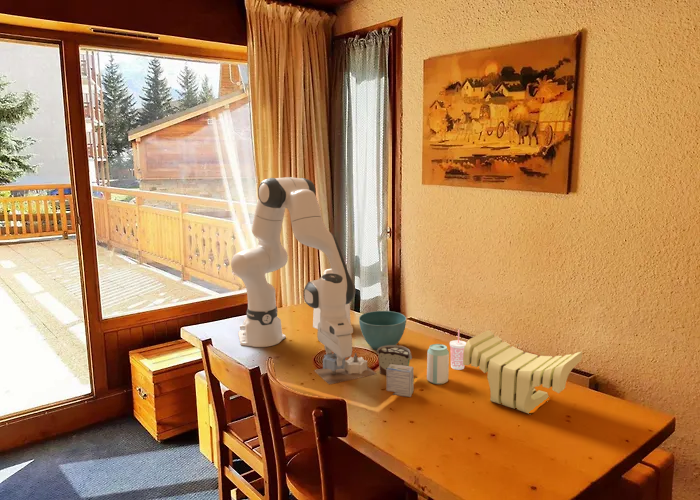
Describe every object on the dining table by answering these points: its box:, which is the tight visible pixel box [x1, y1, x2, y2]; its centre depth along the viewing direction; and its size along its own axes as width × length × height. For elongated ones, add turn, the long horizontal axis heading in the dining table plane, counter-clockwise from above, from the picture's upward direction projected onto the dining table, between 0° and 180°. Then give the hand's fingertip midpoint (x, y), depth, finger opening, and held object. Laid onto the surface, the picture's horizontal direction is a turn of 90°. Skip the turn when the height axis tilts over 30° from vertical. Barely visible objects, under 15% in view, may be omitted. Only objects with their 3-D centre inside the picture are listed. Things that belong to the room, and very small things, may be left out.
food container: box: [376, 344, 413, 376], centre depth 185 cm, size 12×6×10 cm, turn 65°
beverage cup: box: [449, 329, 467, 371], centre depth 192 cm, size 6×6×14 cm
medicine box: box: [386, 364, 414, 398], centre depth 172 cm, size 8×4×9 cm, turn 71°
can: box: [426, 343, 450, 385], centre depth 181 cm, size 7×7×12 cm
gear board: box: [313, 352, 377, 385], centre depth 186 cm, size 13×18×7 cm
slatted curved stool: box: [463, 329, 583, 414], centre depth 165 cm, size 30×16×18 cm, turn 47°
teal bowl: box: [358, 310, 407, 351], centre depth 211 cm, size 18×18×12 cm
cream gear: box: [344, 356, 368, 374], centre depth 188 cm, size 7×8×3 cm
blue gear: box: [322, 352, 346, 371], centre depth 184 cm, size 7×8×3 cm
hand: (334, 361), depth 184 cm, fingers closed on blue gear, 6 cm apart
